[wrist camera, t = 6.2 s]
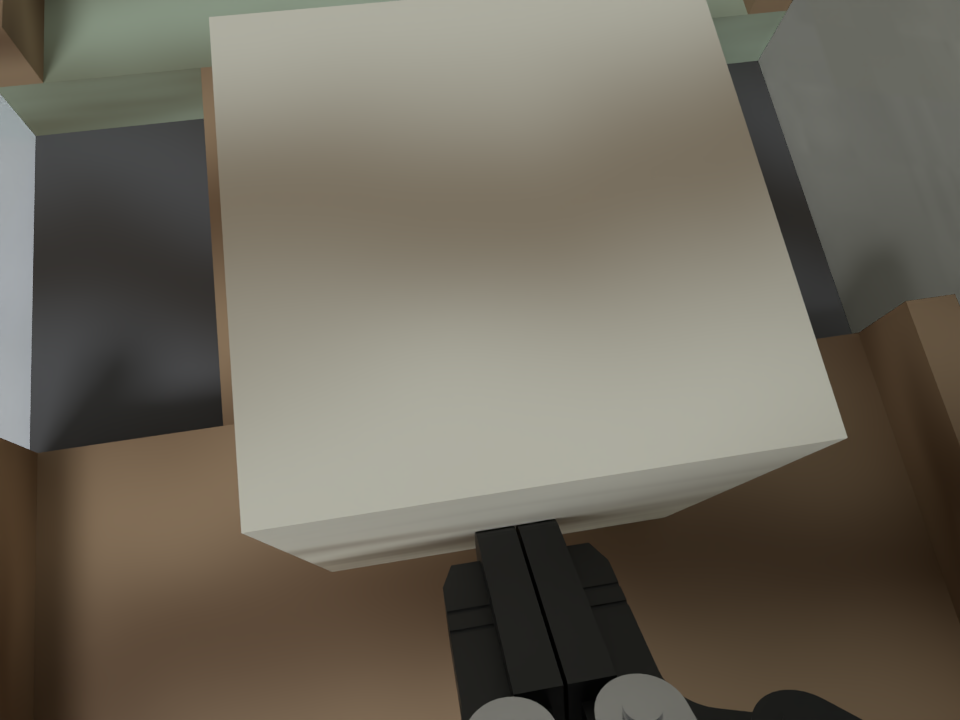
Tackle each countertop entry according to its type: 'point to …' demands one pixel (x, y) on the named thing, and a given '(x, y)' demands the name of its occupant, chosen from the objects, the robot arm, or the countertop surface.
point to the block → (497, 274)
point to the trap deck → (419, 582)
